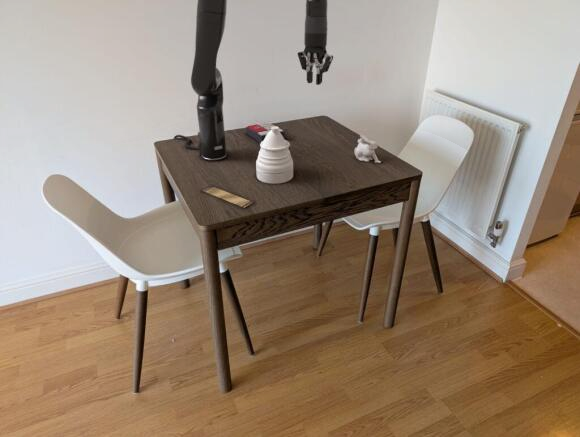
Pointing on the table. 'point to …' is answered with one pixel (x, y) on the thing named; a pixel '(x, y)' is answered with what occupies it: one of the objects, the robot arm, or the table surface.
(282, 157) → the honey pot
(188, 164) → the table surface
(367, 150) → the white lumpy figure
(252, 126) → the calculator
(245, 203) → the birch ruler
